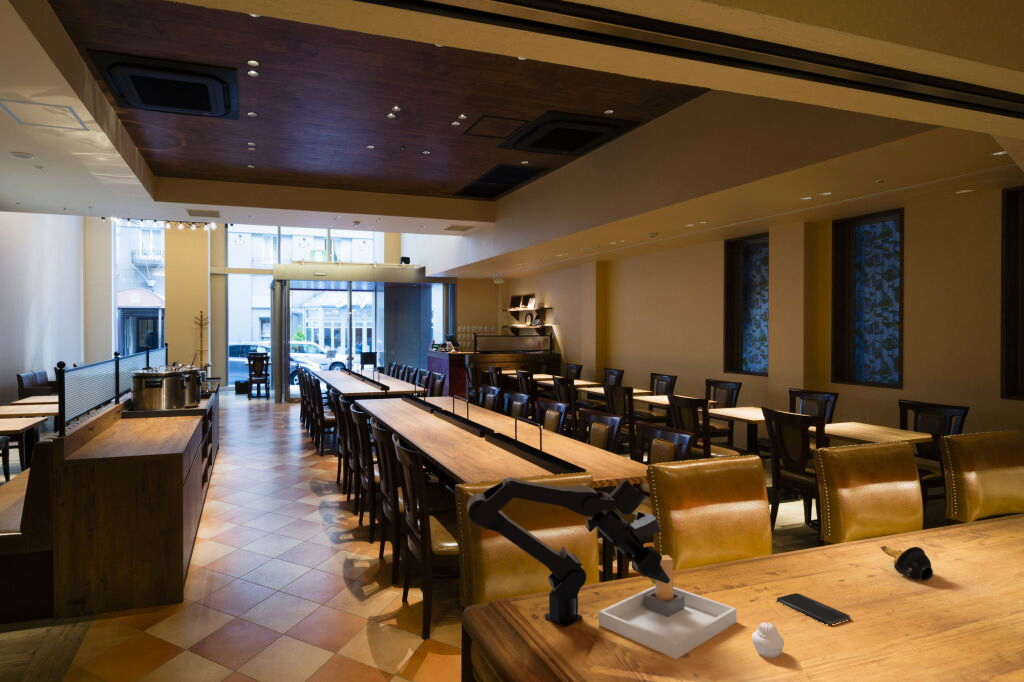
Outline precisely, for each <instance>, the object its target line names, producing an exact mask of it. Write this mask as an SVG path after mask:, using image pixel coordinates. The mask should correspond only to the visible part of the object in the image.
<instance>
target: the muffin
mask: <svg viewBox="0 0 1024 682" xmlns="http://www.w3.org/2000/svg"><path fill="white" fill-rule="evenodd" d="M751 641H752V645H753V646H754V649H755V651H756V652H757V654H759V655H761V656H762V657H765V658H770V659H774V658H775V659H776V658H777V657H780V655H781V653H782V652H783V648H784V646H785V640H784V637H782V635H781V634H780V633H779V632H778V628H777V627H776V626H775V625H774V624H773V623H771V622H761V623H759V624H758V628H757V629H756V631H754V632H753V633H752V635H751Z"/></svg>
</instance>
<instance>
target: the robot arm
mask: <svg viewBox="0 0 1024 682" xmlns="http://www.w3.org/2000/svg"><path fill="white" fill-rule="evenodd" d="M513 499H520V500H524V501H525V500H526V501H530V502H531V501H532V502H537V503H542V504H547V505H548V504H549V505H553V506H554V505H555V506H560V507H563V508H566V509H568V510H570V511H572V512H574V513H577V514H579V515H583V516H585V528H586V529H587V531H588V532H589V533H591V532H593V531H594V530H595V529H596V528H597V529H598V531H600V533H602V535H604V536H605V537H606V538H607V539H608V541H610V542H611V544H612V545H614V547H615V548H617V549H618V550H619V552H621V554H623V555H624V557H625V558H626V559H627V560H632V565H633V566H632V567H633V568H634V569H635V570H636V571H637V572H638V573H639V574H640V576H641V577H643V578H648V579H649V578H652V579H655V580H658V581H661V582H664V583H666V584H667V583H669V581H670V579H669V578H668V576H667V574H666V573H665V571H664V570H663V568H662V566H661V565H660V562H661V560H662V556H661V554H660V553H659V551H657V550H656V549H655V547H653V546H652V545H650V546H649V545H647V546H644V545H645V544H646V543H647V542H648V540H646V539H647V538H649V537H651V536H652V535H654V534H658V533H660V532H661V531H662V528H661V526H660V524H659V523H660V522H659V521H658V520H657V518H656V516H655V515H653V514H652V513H648V512H647V513H646V514H645V513H644V512H643V511H641V510H638V511H637V512H635V511H636V510H637V509H638V508H639V507H640V506H641V505H642V504H643V503H644V502H645V500H646V499H647V498H646V496H645V495H644V494H643V493H642V492H641V491H640V490H639V489H638V488H636V487H635V486H634V485H632V484H631V483H630V482H629V481H628V480H627V479H626V478H623V479H621V481H620V482H619V484H618V485H617V486H616V487H615V488H614V489H613V491H611V492H610V493H608V492H605V491H596V490H594V489H593V488H592V487H590V486H585V485H584V486H582V485H575V486H573V485H572V486H567V487H565V486H564V487H563V486H561V487H560V486H555V485H550V484H545V483H538V482H533V481H527V480H521V479H516V478H515V477H511V476H510V477H506V478H504V479H503V480H502V481H501V482H499V483H497V484H495V485H493V486H491V487H489V488H488V489H486V490H484V491H482V492H480V493H479V492H478V493H475V494H473V495H471V496H470V497H469V499H468V501H467V506H466V507H467V513H468V518H469V520H470V522H471V523H473V524H474V525H476V526H478V527H480V528H483V529H485V530H488V531H492V532H493V533H494V532H495V533H497V534H499V535H500V536H502V537H504V538H505V539H507V540H508V541H509V542H511V543H512V544H514V545H515V546H517V548H519V549H521V550H522V551H524V552H525V553H527V554H528V555H530V556H531V557H533V559H535V560H537V561H538V562H539V563H541V564H542V565H544V566H545V567H546V568H547V569H548V570H549V571H550V574H549V575H548V576H547V580H548V583H549V585H550V587H551V590H550V592H548V601H549V602H548V604H549V605H548V608H549V609H548V610H549V611H548V613H547V614H544V619H546V618H547V619H546V620H548V619H550V620H552V621H554V622H556V623H555V624H557V623H558V624H557V625H559V624H560V625H559V626H561V625H562V626H561V627H567V626H569V625H572V624H573V623H575V622H578V621H580V620H582V619H583V615H581V614H578V613H579V593H580V591H581V588H582V587H583V586H584V585H585V584H586V581H587V573H586V571H585V569H584V567H583V564H582V562H581V560H580V558H579V557H578V556H577V554H576V553H573V552H570V551H569V550H568V549H567V548H566V547H565V546H562V547H561V550H557V549H554V548H552V547H551V546H549V545H548V544H546V543H545V542H544V541H543V540H541V539H539V538H538V537H537V536H535V535H534V534H532V533H531V532H530V531H528V530H527V529H525V528H524V527H523V526H521V525H520V524H518V523H517V522H515V521H514V520H512V519H511V518H510V517H508V516H507V515H506V514H505V513H504V512H503V511H502V509H503V508H504V507H505V506H506V505H507V504H508V503H509V502H510V501H512V500H513ZM614 508H615V509H617V511H618V512H619V513H620V514H622V515H623V516H627V517H629V516H632V514H633V513H634V512H635V513H634V520H633V522H631V523H630V522H628V521H627V520H626V521H625V519H623V518H622V517H621V516H620V514H619V513H617V511H616V510H614ZM550 620H549V621H550ZM552 621H551V622H552ZM554 622H553V623H554ZM571 623H572V624H571ZM566 625H567V626H566Z"/></svg>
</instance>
